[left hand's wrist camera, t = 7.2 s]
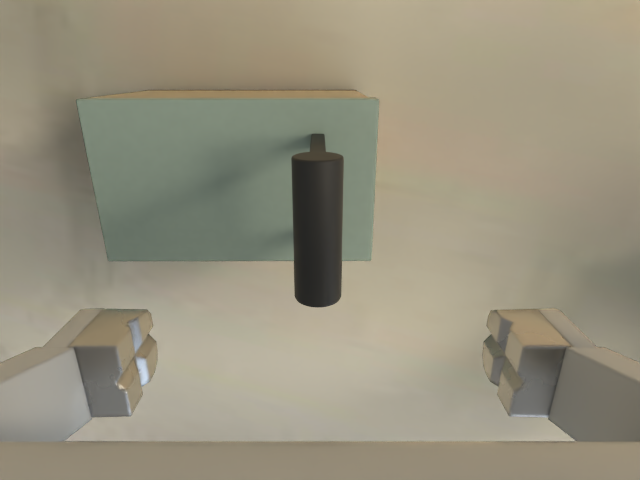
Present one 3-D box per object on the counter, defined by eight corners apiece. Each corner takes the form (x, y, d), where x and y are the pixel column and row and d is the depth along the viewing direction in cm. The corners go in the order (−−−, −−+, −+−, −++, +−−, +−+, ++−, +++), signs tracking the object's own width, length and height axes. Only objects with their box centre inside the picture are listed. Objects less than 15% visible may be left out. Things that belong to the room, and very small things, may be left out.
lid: (376, 97, 23) (410, 114, 15) (369, 252, 27) (393, 341, 18) (87, 97, 23) (-51, 114, 15) (117, 253, 27) (19, 341, 18)
